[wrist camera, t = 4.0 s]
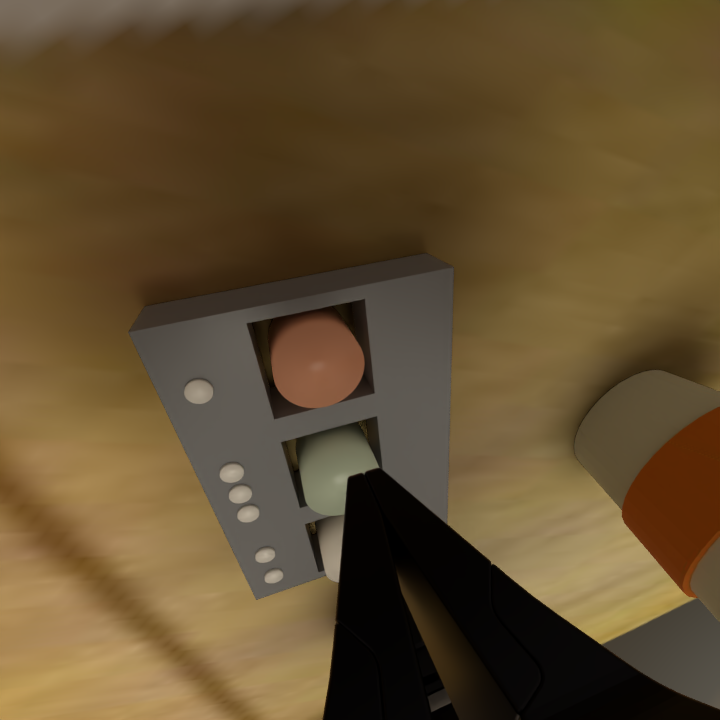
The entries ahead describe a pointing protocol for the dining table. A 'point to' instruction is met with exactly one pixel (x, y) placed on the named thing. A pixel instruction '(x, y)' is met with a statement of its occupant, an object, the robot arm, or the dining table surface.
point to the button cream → (331, 544)
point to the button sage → (332, 465)
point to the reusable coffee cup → (662, 472)
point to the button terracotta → (314, 357)
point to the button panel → (289, 421)
